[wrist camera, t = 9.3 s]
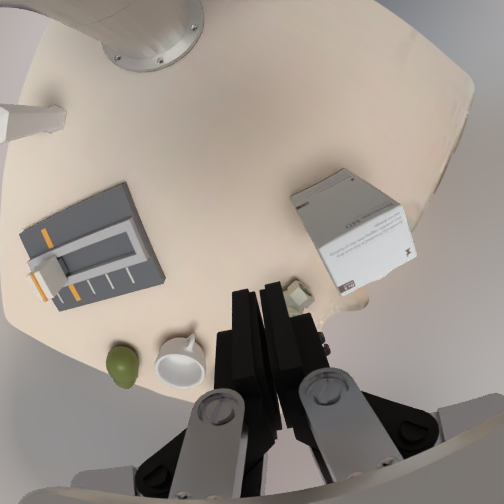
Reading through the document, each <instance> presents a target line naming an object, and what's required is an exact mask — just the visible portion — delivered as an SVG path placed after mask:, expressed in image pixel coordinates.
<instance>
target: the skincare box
mask: <svg viewBox="0 0 504 504" xmlns="http://www.w3.org/2000/svg"><path fill="white" fill-rule="evenodd" d="M290 199H291V201H292V203H293V205H294V207H295V209H296V211H297V213H298V215H299V216H300V218H301V220H302V222H303V224H304V226H305V228H306V230H307V232H308V234H309V235H310V237H311V239H312V241H313V243H314V245H315V247H316V249H317V251H318V253H319V255H320V257H321V259H322V261H323V263H324V265H325V267H326V269H327V271H328V273H329V275H330V277H331V279H332V280H333V282H334V284H335V286H336V288H337V290H338V292H339V294H340V296H341V297H344V296H345V295H347V294H349V293H351V292H353V291H354V290H356V289H358V288H360V287H362V286H364V285H365V284H367V283H369V282H373V281H377V280H379V279H381V278H383V277H384V276H386V275H387V274H388V273H389V272H390V271H391V270H393V269H395V268H396V267H398V266H400V265H402V264H404V263H406V262H407V261H409V260H411V259H413V258H415V257H416V256H417V252H416V249H415V245H414V241H413V238H412V235H411V232H410V229H409V225H408V222H407V219H406V216H405V213H404V210H403V206H402V205H401V204H399V203H398V202H396V201H395V200H393V199H392V198H391V197H389V196H388V195H386V194H385V193H383V192H382V191H380V190H379V189H377V188H376V187H374V186H373V185H371V184H369V183H368V182H366V181H365V180H363V179H361V178H360V177H358V176H357V175H355V174H353V173H352V172H350V171H348V170H347V169H342V170H341V171H339V172H338V173H336V174H334V175H333V176H331V177H329V178H327V179H325V180H323V181H322V182H320V183H318V184H316V185H314V186H312V187H310V188H308V189H306V190H303V191H301V192H299V193H297V194H295V195H293V196H291V197H290Z"/></svg>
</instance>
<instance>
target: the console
mask: <svg viewBox="0 0 504 504" xmlns="http://www.w3.org/2000/svg"><path fill="white" fill-rule="evenodd" d="M19 235H20V238H21V240H22V242H23V244H24V247H25V249H26V251H27V253H28V255H29V257H30V260H29V261H28V262H27V263H28V265H29V267H30V269H31V271H32V270H33V269H35V268H36V267H37V266H38V265H39V264H40V263H41V262H42V261H45V260H47V259H49V258H52V257H54V256H56V258H57V259H59V258H62V260H63V262H64V264H65V266H66V268H67V270H68V271H69V272H68V273H67V274H66V278H67V279H68V281H67V283H66V284H65V285H64V286H63V287H62V288H61V290H60V291H59V292H58V293H57V294H56V295H55V297H54V298H52V300H53V302H54V304H55V305H56V307H57V309H58V310H59V312H60V311H64V310H67V309H71V308H75V307H79V306H82V305H86V304H90V303H94V302H97V301H101V300H105V299H108V298H112V297H116V296H120V295H123V294H127V293H131V292H134V291H138V290H142V289H146V288H149V287H153V286H157V285H160V284H164V281H165V279H166V278H165V275H164V273H163V271H162V269H161V267H160V264H159V262H158V260H157V258H156V255H155V253H154V251H153V249H152V246H151V244H150V242H149V239H148V237H147V234H146V232H145V230H144V227H143V225H142V222H141V220H140V217H139V215H138V212H137V210H136V207H135V205H134V202H133V200H132V197H131V194H130V192H129V189H128V186H127V184H126V182H125V183H123V184H120V185H118V186H116V187H113V188H111V189H108V190H106V191H104V192H102V193H99V194H97V195H95V196H93V197H90V198H88V199H86V200H84V201H82V202H80V203H78V204H75V205H73V206H71V207H69V208H67V209H65V210H63V211H61V212H59V213H57V214H55V215H53V216H51V217H49V218H47V219H45V220H43V221H41V222H40V223H38V224H36V225H34V226H32V227H30V228H28V229H27V230H25V231H23V232H22V233H20V234H19Z"/></svg>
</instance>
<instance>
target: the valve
mask: <svg viewBox="0 0 504 504" xmlns="http://www.w3.org/2000/svg"><path fill="white" fill-rule="evenodd" d="M287 289H288V290H286V291H283V295H284V298H285V302H286V306H287V310H288V313H289V317H293V316H297V315H301V314H302V312H303V310H304V308H307V307H308V306H309V305H311V304H312V303H313V302H314V301H315V300H314V296H313V294H312V293H311V291H310V290H309V289H308V288H307V287H306V286H305V285H304V284H303V283H302V282H300V281H297V280H295V281H294V282H293V283H292V284H291V285H290V286H289V287H288V288H287ZM318 335H319V338H320V341H321V343H322V344H323V343H324V342H325V337H324V335H323V333H322V332H318ZM323 349H324V352H325V355H326V356H328V355H329V354H330V348H329V346H328V344H324V347H323Z"/></svg>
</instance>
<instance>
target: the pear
mask: <svg viewBox="0 0 504 504" xmlns="http://www.w3.org/2000/svg"><path fill="white" fill-rule="evenodd" d="M106 367H107V370H108V373H109V374H110V375H111V377H112V378H113V380H114V382H115V383H116V384H117V385H118V386H119V387H122V388H125V389H129V388H131V387H132V386H133V385H134V383H135V381H136V379H137V377H138V359H137V356H136V354H135V353H134V352H133V351H132V350H131V349H130V348H128V347H125V346H116V347H114V348H112V349H111V350H110V352H109V353H108V356H107V360H106Z"/></svg>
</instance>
